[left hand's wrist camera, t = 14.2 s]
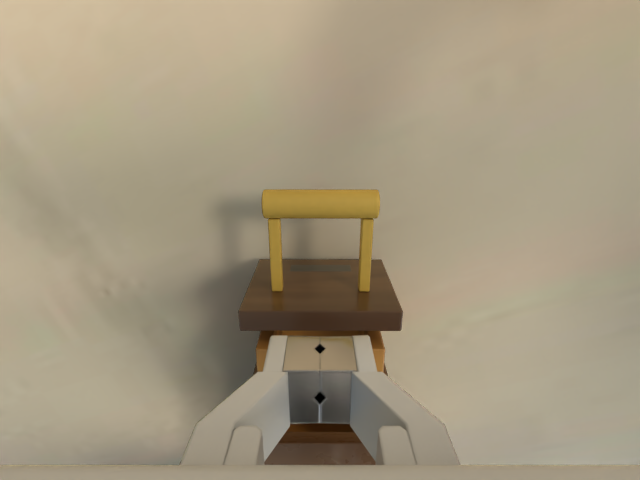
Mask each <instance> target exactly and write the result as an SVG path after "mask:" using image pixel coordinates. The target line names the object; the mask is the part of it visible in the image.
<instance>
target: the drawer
mask: <svg viewBox="0 0 640 480" xmlns="http://www.w3.org/2000/svg"><path fill="white" fill-rule="evenodd" d="M379 209H380V196H379V192H378V190H264V191H263V193H262V213H263V216H264V218H269V219H268V230H269V249H270V259H260V260H259V263H258V265H257V267H256V270H255V272H254V275H253V277H252V280H251V282H250V284H249V287H248V289H247V292H246V294H245V297H244V299H243V301H242V304H241V306H240V309H239V311H238V314H239V324H240V330H241V331H261V332H260V336H259V339H258V343H257V347H256V359H257V372H263V367H264V363H265V358H266V354H267V350H268V345H269V341H270V337H271V336H272V335H287V336H288V335H293V336H356V335H368V336H369V337H370V341H371V345H372V350H373V354H374V359H375V363H376V367H377V372H383V370H384V357H385V348H384V344H383V340H382V337H381V333H380V331H401V326H402V316H403V311H402V308H401V306H400V304H399V301H398V299H397V296H396V294H395V291H394V289H393V287H392V284H391V282H390V279H389V277H388V275H387V272H386V270H385V267H384V265H383V262H382V260H371V255H372V238H373V221H374V220H373V218H378V215H379ZM280 218H361V230H360V252H359V260H291V259H282V244H281V220H280ZM286 432H354V431H353V429H352V428H351V426H350V424H325V423H314V424H290V427H289V428H288V430H287V431H286Z"/></svg>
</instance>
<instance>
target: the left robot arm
mask: <svg viewBox="0 0 640 480" xmlns="http://www.w3.org/2000/svg"><path fill="white" fill-rule="evenodd" d="M314 423H325V424H350V426H351V428H352V429H353V431H354V432H355V433H356V435H357V436H358V438H359V439H360V440H361V442H362V443H363V445H364V446H365V447H366V449H367V450H368V452H369V453H370V455H371V456H372V457H373V459H374V460H375V462H376V464H375V465H265V464H264V462H265V460H266V459H267V458H268V456H269V455H270V453H271V452H272V451H273V449H274V448H275V446H276V445H277V444H278V442H279V441H280V439H281V438H282V437H283V435H284V434H285V432H286V431H287V430H288V428H289V427H290V424H314ZM0 480H640V465H460V462H459V460H458V457H457V455H456V452H455V450H454V447H453V445H452V442H451V440H450V437H449V435H448V432H447V430H446V427H445V425H444V424H443V423H442V422H441V421H440V420H438V419H437V418H436V417H435V416H434V415H433V414H431V413H430V412H429V411H428V410H427V409H426V408H424V407H423V406H422V405H421V404H420V403H418V402H417V401H416V400H415V399H414V398H413V397H411V396H410V395H409V394H408V393H407V392H406V391H404V390H403V389H402V388H401V387H400V386H399V385H397V384H396V383H395V382H394V381H393V380H391V379H390V378H389V377H388V376H387V375H386V374H384V373H383V372H377V367H376V363H375V359H374V354H373V350H372V345H371V341H370V337H369V336H368V335H356V336H293V335H288V336H287V335H272V336H271V337H270V341H269V345H268V350H267V354H266V358H265V363H264V367H263V372H257V373H256V374H254V375H253V376H252V377H251V378H250V379H249V380H247V381H246V382H245V383H244V384H243V385H241V386H240V387H239V388H238V389H237V390H236V391H234V392H233V393H232V394H231V395H230V396H228V397H227V398H226V399H225V400H224V401H223V402H221V403H220V404H219V405H218V406H217V407H215V408H214V409H213V410H212V411H211V412H210V413H208V414H207V415H206V416H205V417H204V418H202V419H201V420H200V421H199V422H198V423H197V424H196V425H195V427H194V430H193V432H192V435H191V437H190V440H189V442H188V445H187V447H186V450H185V452H184V455H183V457H182V460H181V462H180V465H0Z"/></svg>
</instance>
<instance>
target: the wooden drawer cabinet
mask: <svg viewBox="0 0 640 480" xmlns="http://www.w3.org/2000/svg"><path fill="white" fill-rule="evenodd" d="M256 373H257V362H256V366H255V370H254V374H256ZM383 373H384V374H386V375H387V371H386V367H385V363H384V370H383ZM254 374H253V375H254ZM387 376H388V375H387ZM264 464H265V465H375V464H376V462H375V460H374V459H373V457H372V456H371V455H370V453H369V452H368V450H367V449H366V447H365V446H364V445H363V443H362V442H361V440H360V439H359V438H358V436H357V435H356V433H355V432H285V434H284V435H283V437H282V438H281V439H280V441H279V442H278V444H277V445H276V446H275V448H274V449H273V451H272V452H271V453H270V455H269V456H268V458H267V459H266V460H265V462H264Z"/></svg>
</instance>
